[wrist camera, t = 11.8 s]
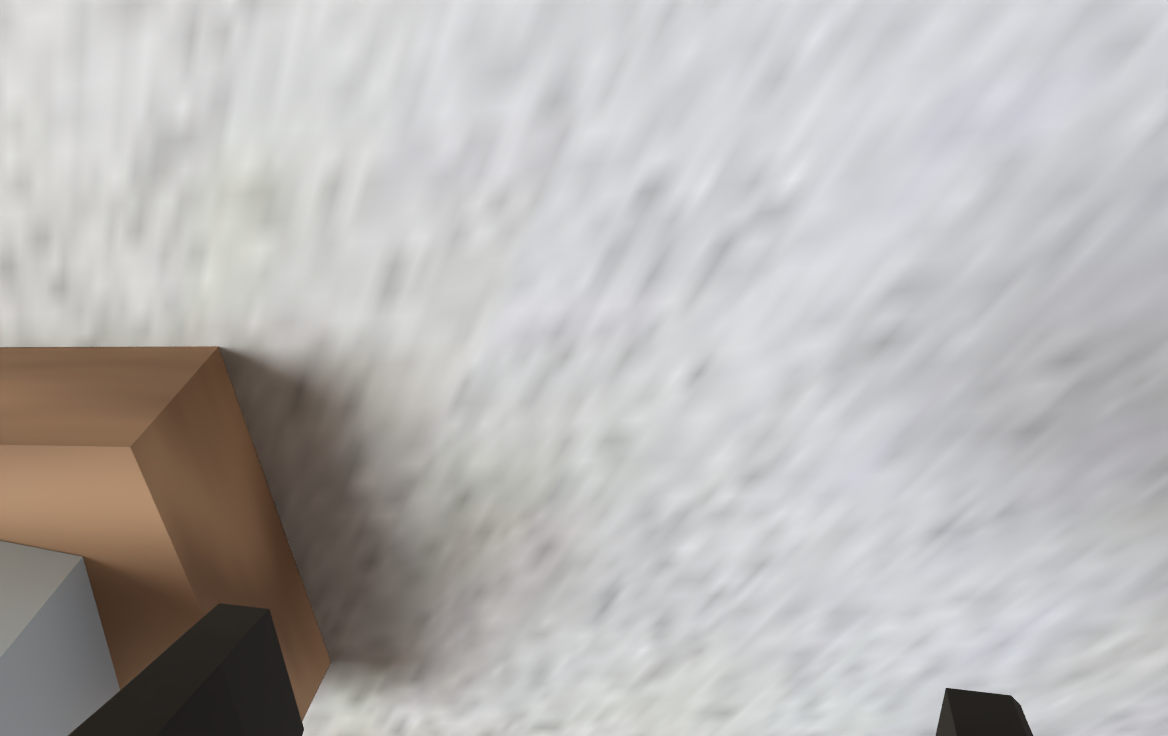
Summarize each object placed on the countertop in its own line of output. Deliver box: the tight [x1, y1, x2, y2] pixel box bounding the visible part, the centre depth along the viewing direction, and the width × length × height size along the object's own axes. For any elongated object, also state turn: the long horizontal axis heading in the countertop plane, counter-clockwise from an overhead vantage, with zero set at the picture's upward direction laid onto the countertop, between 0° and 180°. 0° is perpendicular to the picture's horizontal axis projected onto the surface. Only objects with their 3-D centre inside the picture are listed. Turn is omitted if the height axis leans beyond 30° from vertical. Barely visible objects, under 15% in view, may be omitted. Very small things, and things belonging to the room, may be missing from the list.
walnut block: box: [0, 347, 331, 721], centre depth 26 cm, size 10×10×4 cm
